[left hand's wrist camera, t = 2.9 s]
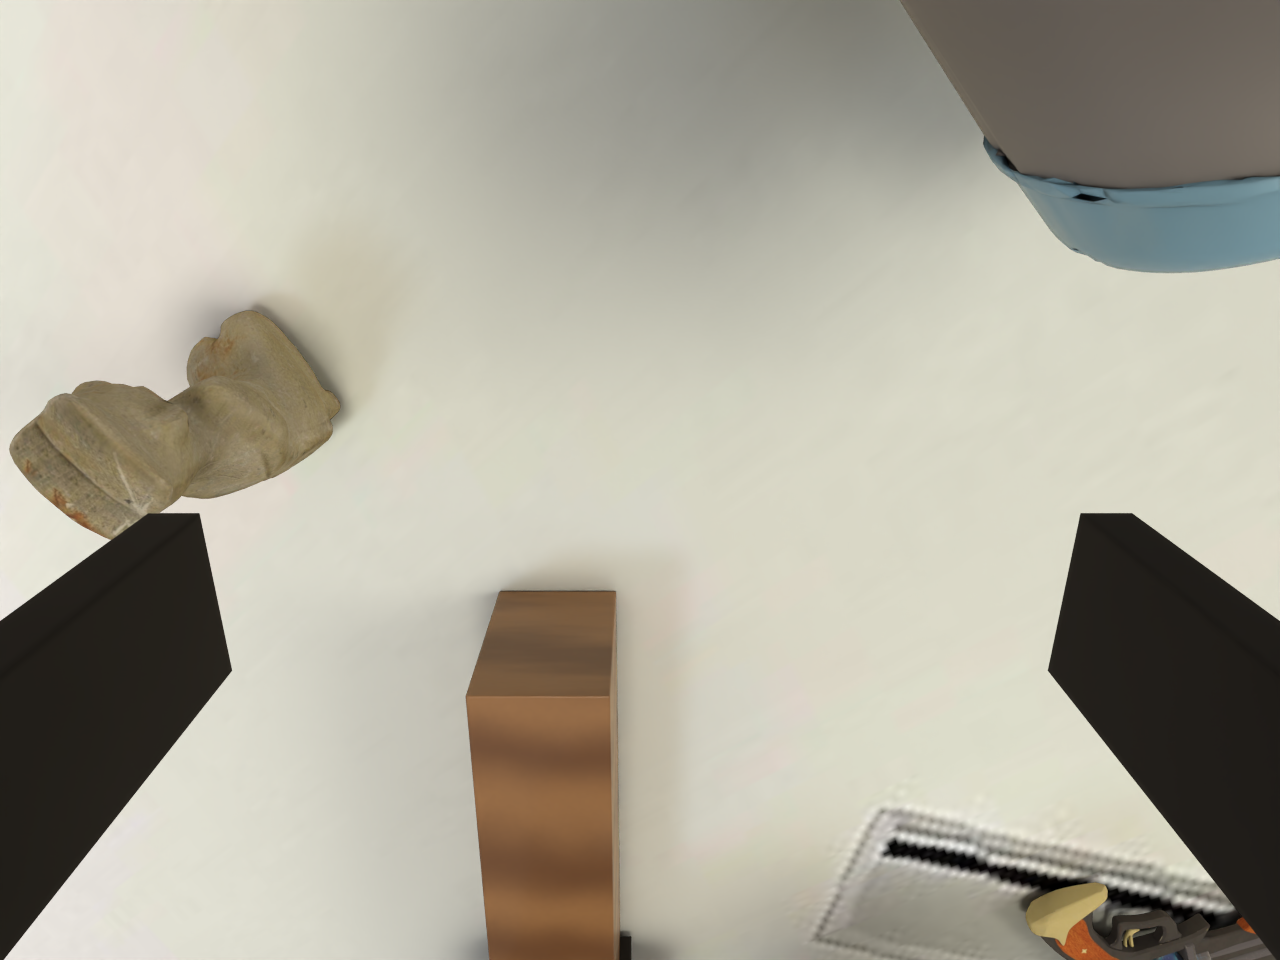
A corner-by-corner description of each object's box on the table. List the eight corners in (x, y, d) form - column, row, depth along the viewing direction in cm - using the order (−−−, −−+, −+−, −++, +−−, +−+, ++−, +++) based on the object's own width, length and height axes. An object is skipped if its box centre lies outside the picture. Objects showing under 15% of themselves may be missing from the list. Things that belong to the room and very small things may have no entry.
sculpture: (273, 286, 40) (79, 357, 26) (373, 405, 42) (242, 528, 28) (187, 354, 42) (-42, 456, 28) (288, 466, 44) (122, 613, 30)
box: (499, 590, 47) (465, 696, 38) (616, 590, 47) (610, 696, 38) (525, 977, 57) (504, 1131, 48) (620, 977, 57) (616, 1131, 48)
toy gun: (1034, 923, 52) (1064, 1046, 54) (1335, 835, 51) (1353, 963, 54) (1013, 892, 55) (1044, 1011, 57) (1300, 807, 54) (1319, 931, 56)
